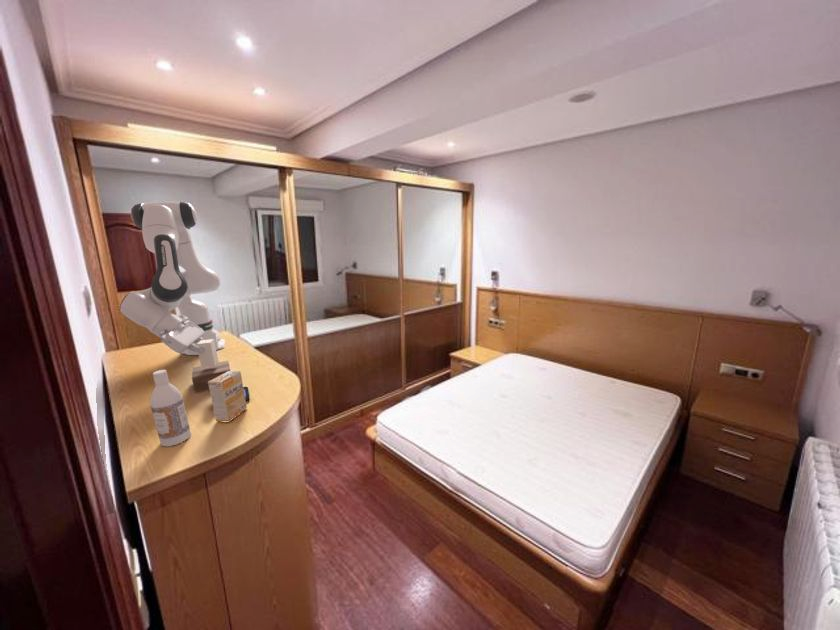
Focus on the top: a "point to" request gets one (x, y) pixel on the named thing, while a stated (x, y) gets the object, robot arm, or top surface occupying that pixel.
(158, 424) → the bath foam
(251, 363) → the top surface
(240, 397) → the supplement box
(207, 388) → the walnut block
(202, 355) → the cream block
